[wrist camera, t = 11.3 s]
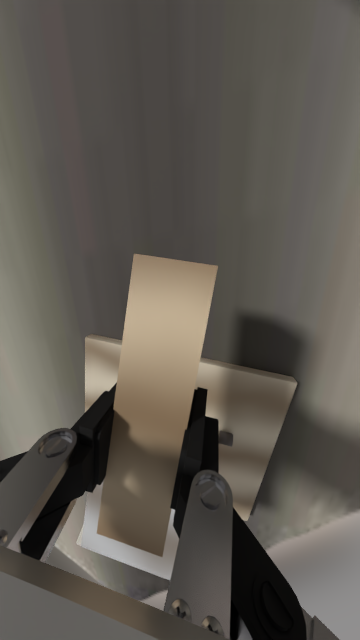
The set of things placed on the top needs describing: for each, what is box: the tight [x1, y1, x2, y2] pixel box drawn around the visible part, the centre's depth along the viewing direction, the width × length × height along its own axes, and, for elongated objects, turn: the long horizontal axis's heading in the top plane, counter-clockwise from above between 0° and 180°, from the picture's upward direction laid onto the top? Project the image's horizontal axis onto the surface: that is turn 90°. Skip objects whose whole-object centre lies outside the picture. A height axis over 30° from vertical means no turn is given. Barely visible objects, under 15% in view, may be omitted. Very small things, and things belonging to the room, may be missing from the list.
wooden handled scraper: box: [81, 254, 218, 580], centre depth 10 cm, size 19×8×4 cm, turn 172°
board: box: [85, 334, 297, 521], centre depth 21 cm, size 18×20×2 cm
